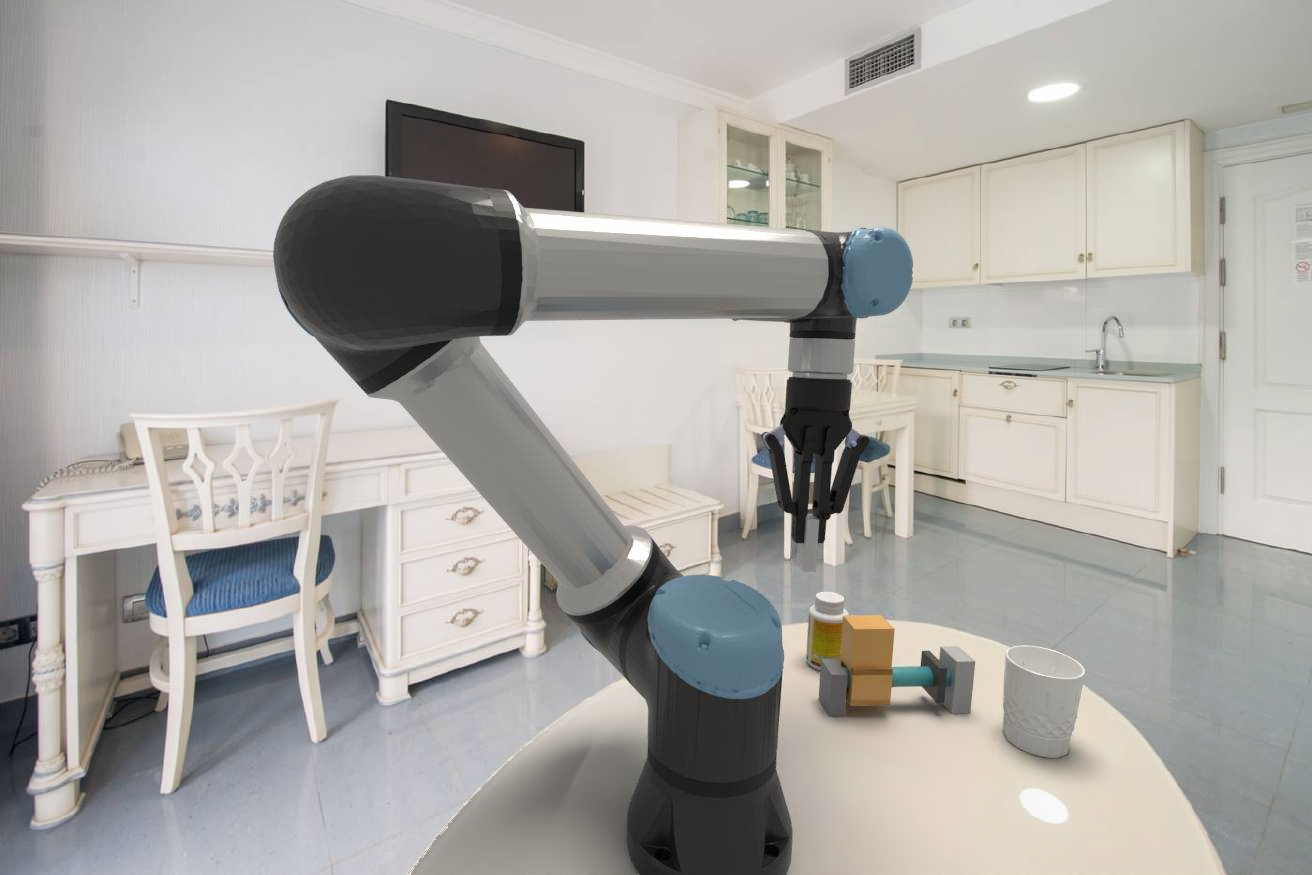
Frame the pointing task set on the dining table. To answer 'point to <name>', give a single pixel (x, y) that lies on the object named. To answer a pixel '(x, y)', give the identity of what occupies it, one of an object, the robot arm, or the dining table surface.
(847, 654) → the sleeve
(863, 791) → the dining table surface
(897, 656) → the dining table surface
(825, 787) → the dining table surface
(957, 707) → the teal axle dumbbell
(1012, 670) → the white cup
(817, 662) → the supplement bottle
